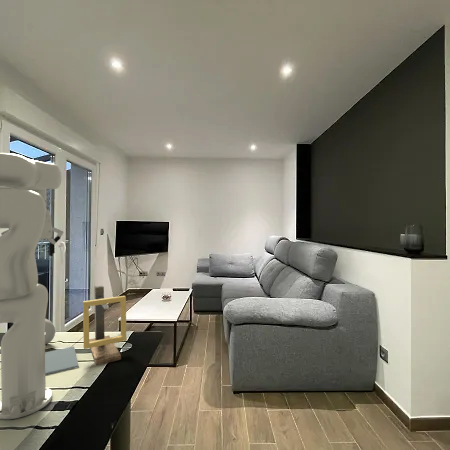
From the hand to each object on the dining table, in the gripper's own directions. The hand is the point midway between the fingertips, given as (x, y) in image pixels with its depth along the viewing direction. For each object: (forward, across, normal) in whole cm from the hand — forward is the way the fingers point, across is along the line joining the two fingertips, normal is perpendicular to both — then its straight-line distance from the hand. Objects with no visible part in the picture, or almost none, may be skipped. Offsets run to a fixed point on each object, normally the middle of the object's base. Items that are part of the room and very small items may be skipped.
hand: (34, 257), depth 98 cm
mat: (+36, +6, 0) cm, 37 cm away
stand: (+36, +21, -2) cm, 42 cm away
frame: (+32, +20, -8) cm, 39 cm away
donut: (+37, +5, +20) cm, 42 cm away
